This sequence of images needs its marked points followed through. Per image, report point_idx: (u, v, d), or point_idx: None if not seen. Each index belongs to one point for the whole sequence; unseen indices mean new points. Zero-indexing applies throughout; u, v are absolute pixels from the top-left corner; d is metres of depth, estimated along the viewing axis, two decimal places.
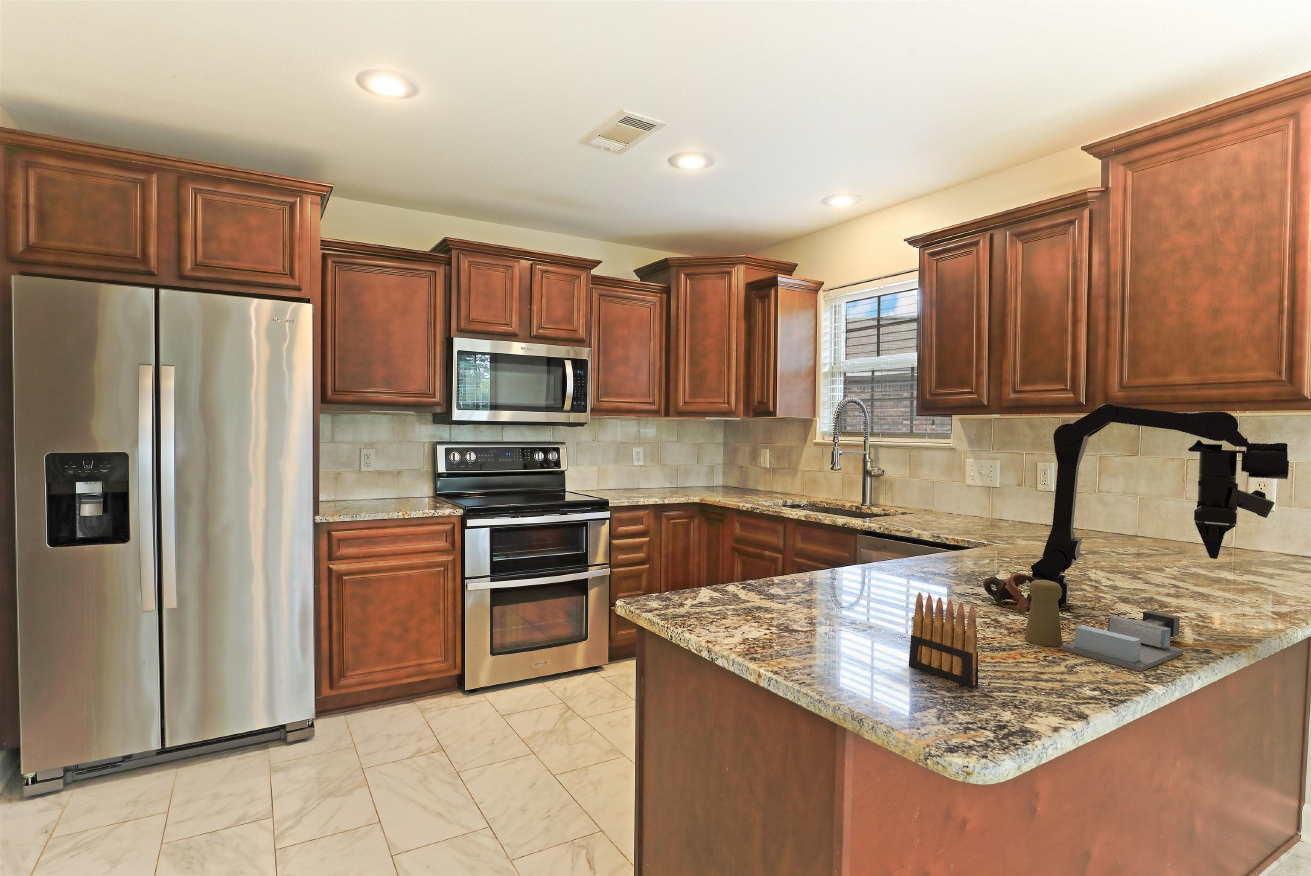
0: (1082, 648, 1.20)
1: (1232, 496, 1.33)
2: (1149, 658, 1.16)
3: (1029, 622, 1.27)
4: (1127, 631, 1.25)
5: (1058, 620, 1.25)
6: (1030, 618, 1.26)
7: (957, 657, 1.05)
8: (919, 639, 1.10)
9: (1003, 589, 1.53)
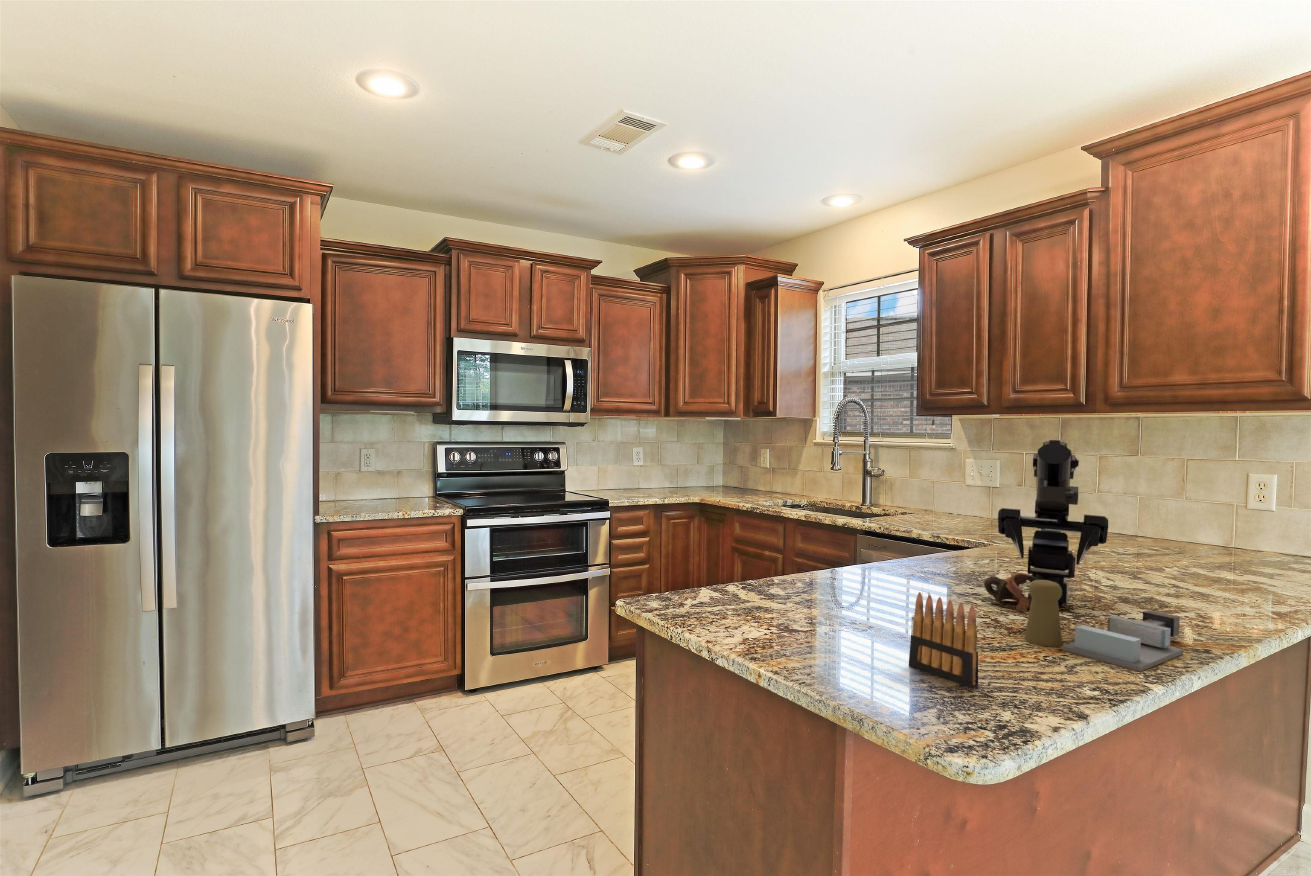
0: (1082, 648, 1.20)
1: (1035, 502, 1.40)
2: (1149, 658, 1.16)
3: (1029, 622, 1.27)
4: (1127, 631, 1.25)
5: (1058, 620, 1.25)
6: (1030, 618, 1.26)
7: (957, 657, 1.05)
8: (919, 639, 1.10)
9: (1004, 589, 1.54)
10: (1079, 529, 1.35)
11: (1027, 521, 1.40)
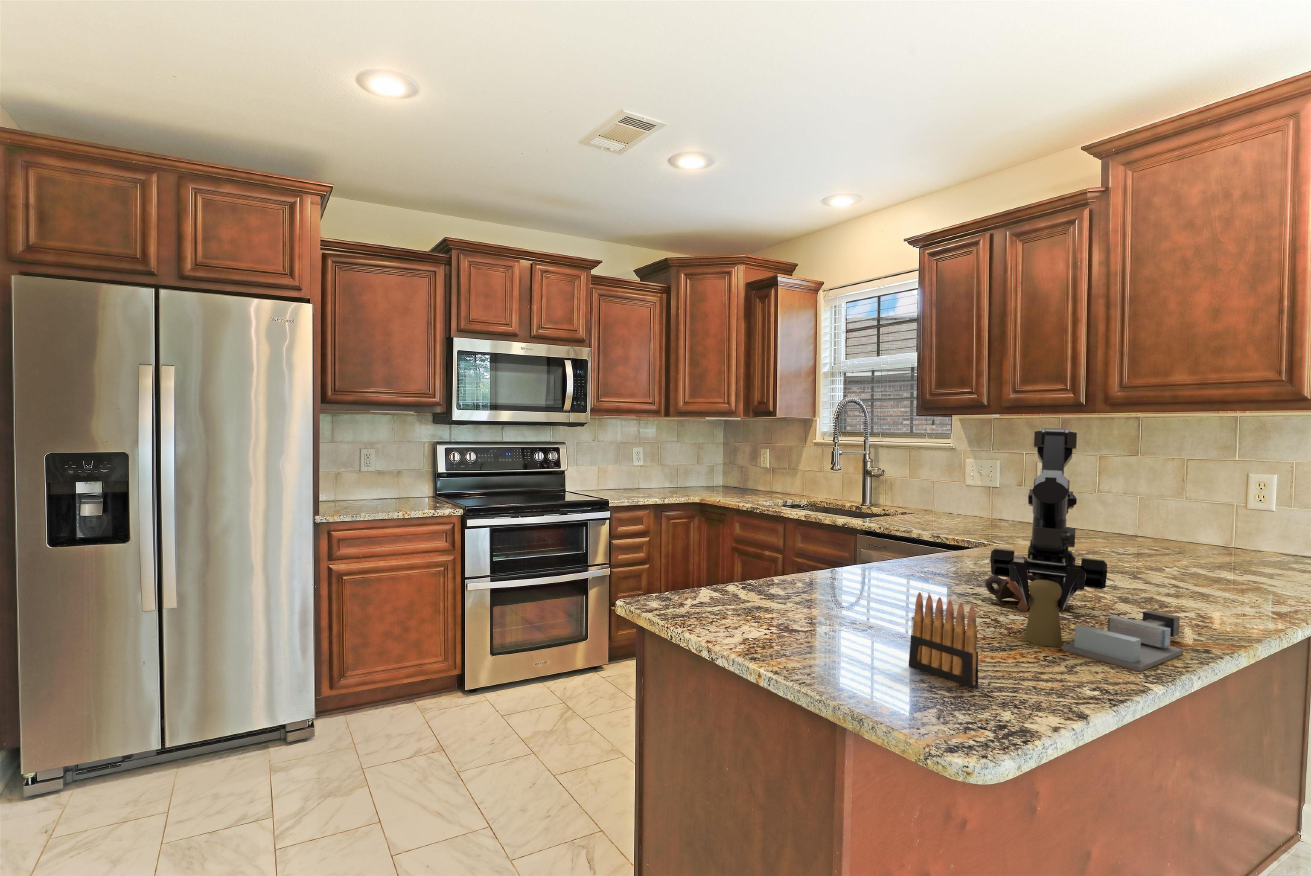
0: (1082, 648, 1.20)
1: (1030, 543, 1.32)
2: (1149, 658, 1.16)
3: (1029, 622, 1.27)
4: (1127, 631, 1.25)
5: (1058, 620, 1.25)
6: (1030, 618, 1.26)
7: (957, 657, 1.05)
8: (919, 639, 1.10)
9: (1004, 588, 1.55)
10: None
11: None
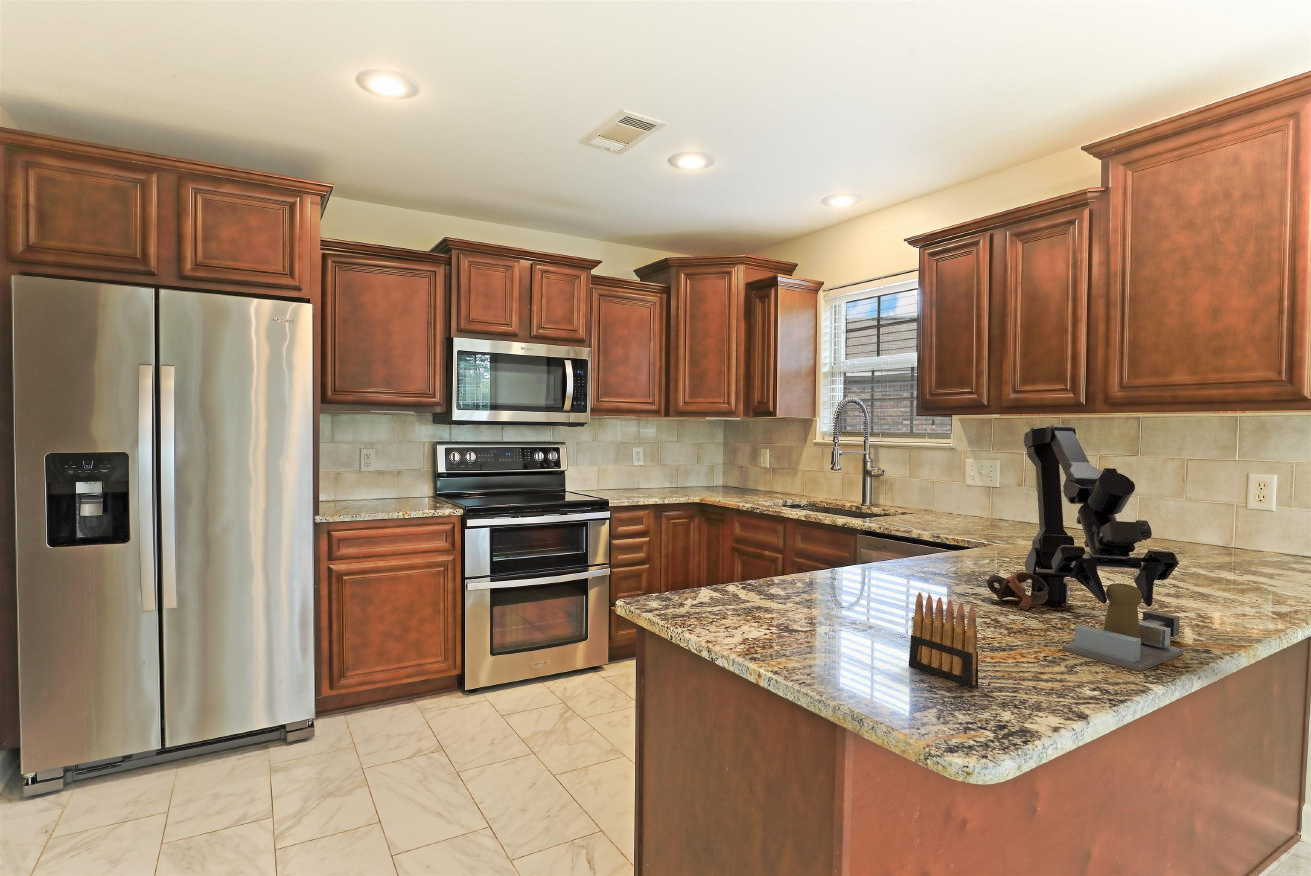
0: (1082, 648, 1.20)
1: (1094, 537, 1.27)
2: (1149, 658, 1.16)
3: (1110, 629, 1.21)
4: None
5: (1138, 625, 1.20)
6: (1111, 625, 1.21)
7: (957, 657, 1.05)
8: (919, 639, 1.10)
9: (1005, 587, 1.56)
10: (1144, 566, 1.24)
11: None
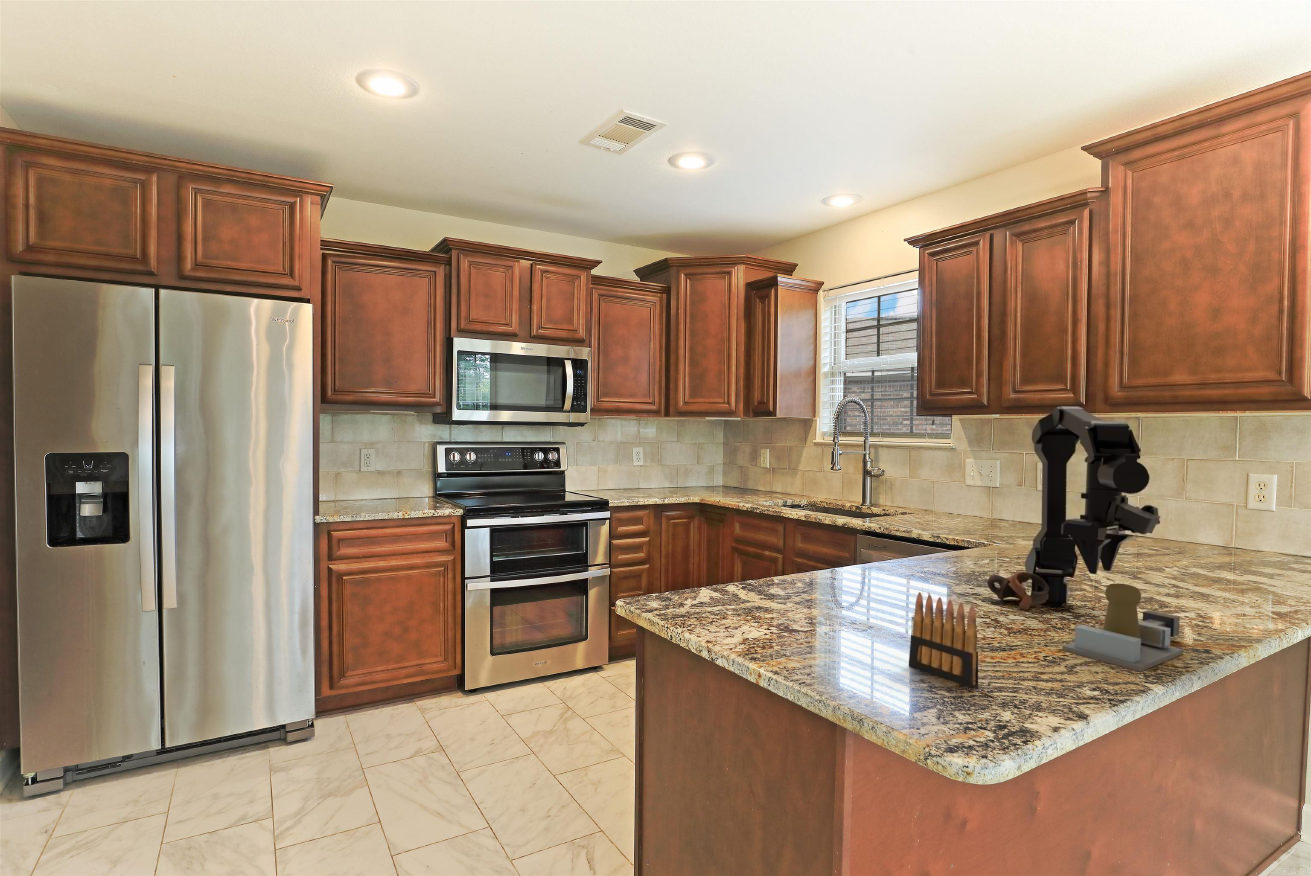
0: (1082, 648, 1.20)
1: (1110, 510, 1.26)
2: (1149, 658, 1.16)
3: (1110, 629, 1.21)
4: None
5: None
6: (1111, 625, 1.21)
7: (957, 657, 1.05)
8: (919, 639, 1.10)
9: (1006, 587, 1.56)
10: None
11: None
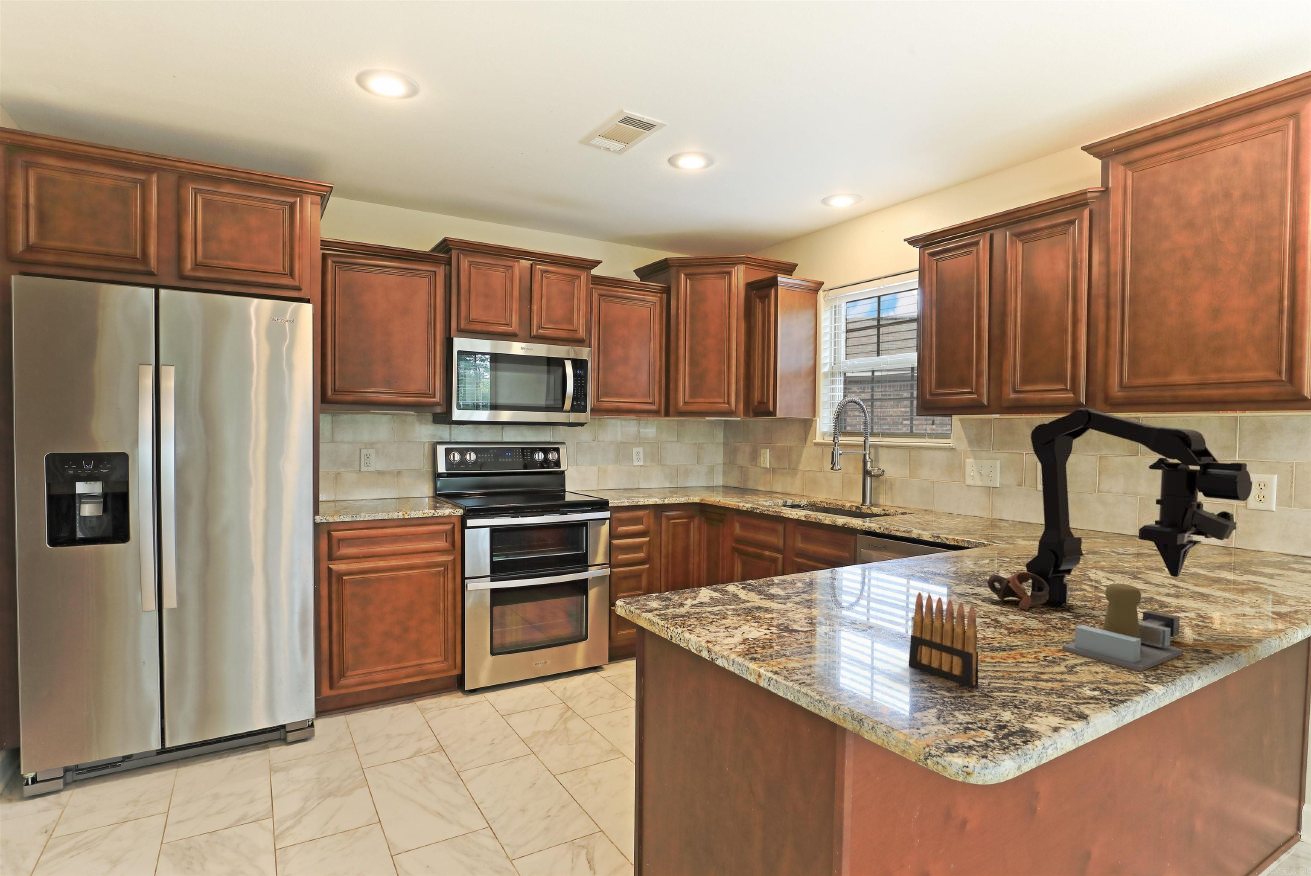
0: (1082, 648, 1.20)
1: (1187, 516, 1.29)
2: (1149, 658, 1.16)
3: (1110, 629, 1.21)
4: None
5: None
6: (1111, 625, 1.21)
7: (957, 657, 1.05)
8: (919, 639, 1.10)
9: (1007, 587, 1.56)
10: None
11: None
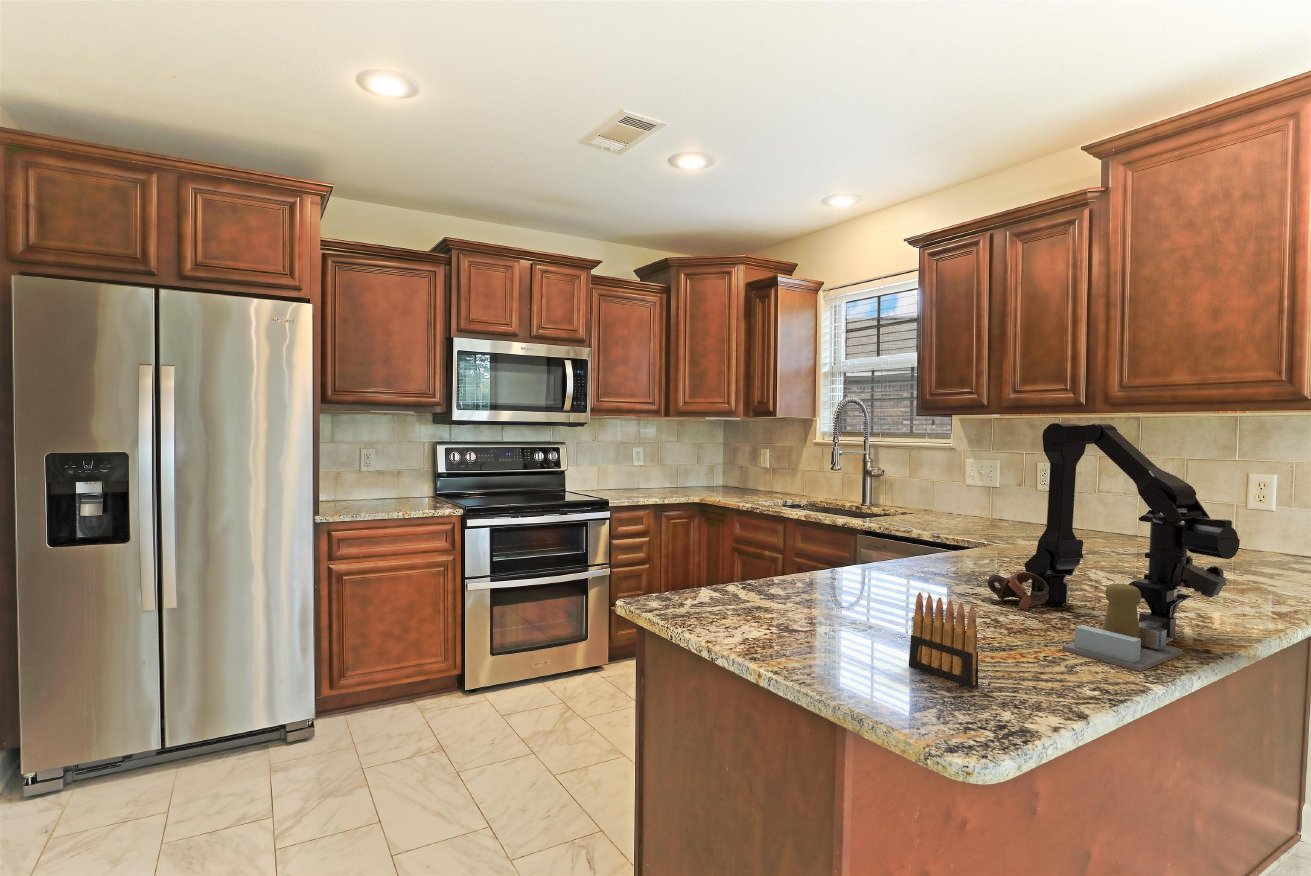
0: (1082, 648, 1.20)
1: (1176, 572, 1.27)
2: (1149, 658, 1.16)
3: (1110, 629, 1.21)
4: None
5: None
6: (1111, 625, 1.21)
7: (957, 657, 1.05)
8: (919, 639, 1.10)
9: (1007, 587, 1.56)
10: None
11: None
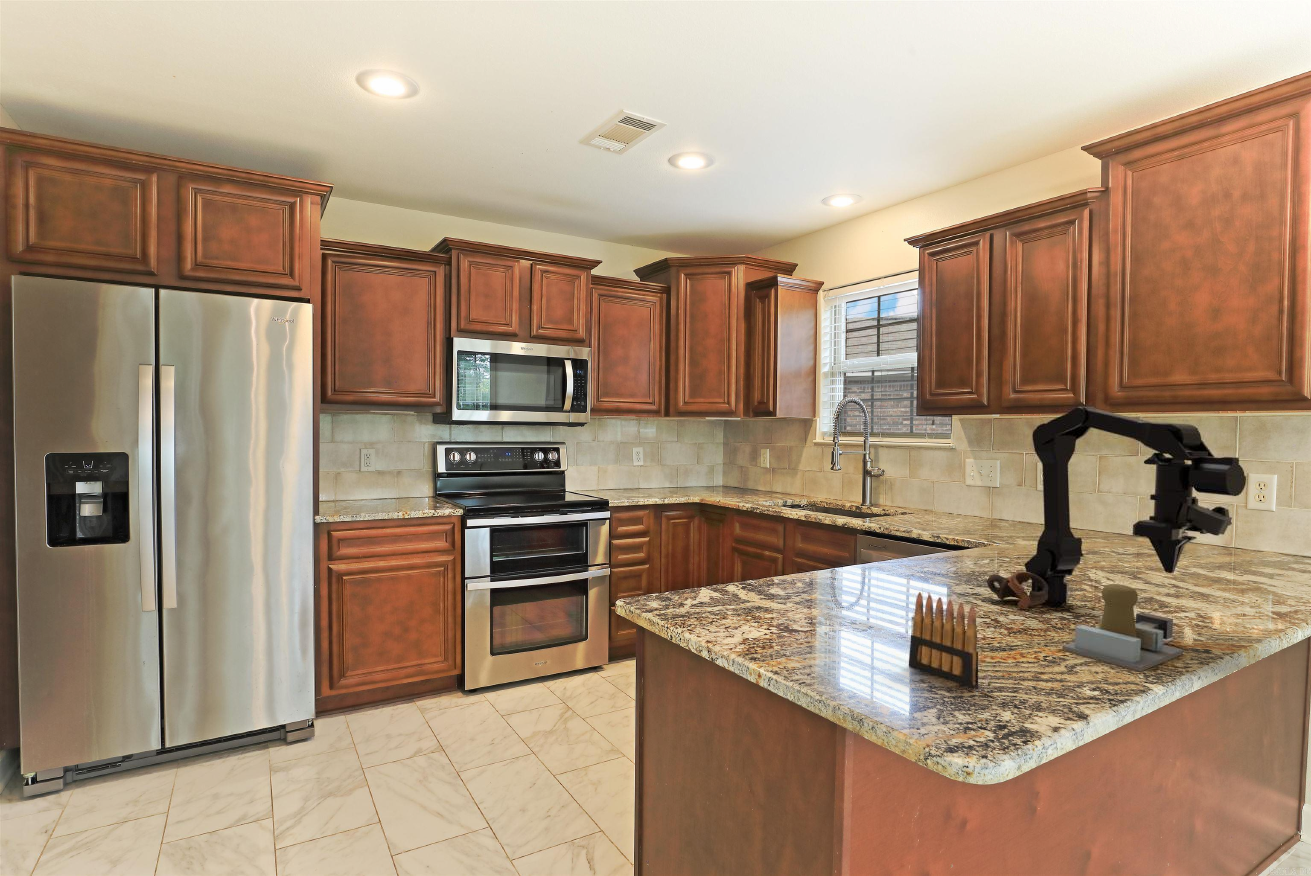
0: (1082, 648, 1.20)
1: (1182, 511, 1.28)
2: (1149, 658, 1.16)
3: (1106, 630, 1.20)
4: None
5: None
6: (1107, 626, 1.20)
7: (957, 657, 1.05)
8: (919, 639, 1.10)
9: (1006, 586, 1.56)
10: None
11: None
